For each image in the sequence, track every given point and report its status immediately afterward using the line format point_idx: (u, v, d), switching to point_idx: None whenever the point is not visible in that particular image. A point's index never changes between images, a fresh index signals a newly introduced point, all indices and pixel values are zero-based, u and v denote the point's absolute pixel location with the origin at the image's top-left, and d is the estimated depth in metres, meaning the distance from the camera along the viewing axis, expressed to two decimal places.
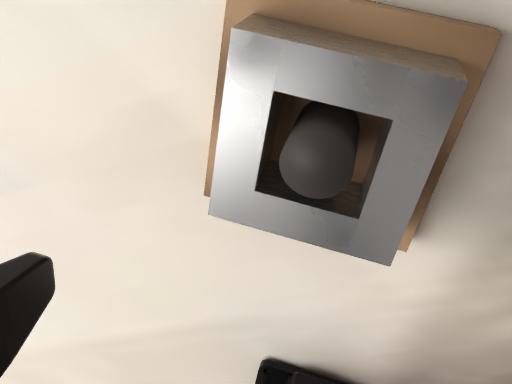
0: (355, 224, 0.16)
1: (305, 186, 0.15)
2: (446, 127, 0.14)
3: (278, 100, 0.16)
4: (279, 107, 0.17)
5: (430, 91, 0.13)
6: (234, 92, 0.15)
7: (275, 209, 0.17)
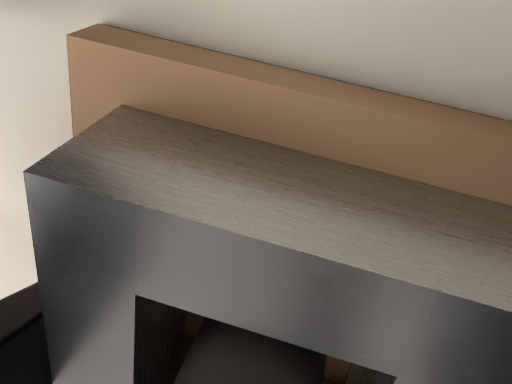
0: None
1: None
2: None
3: None
4: None
5: (488, 339, 0.05)
6: (59, 288, 0.07)
7: None
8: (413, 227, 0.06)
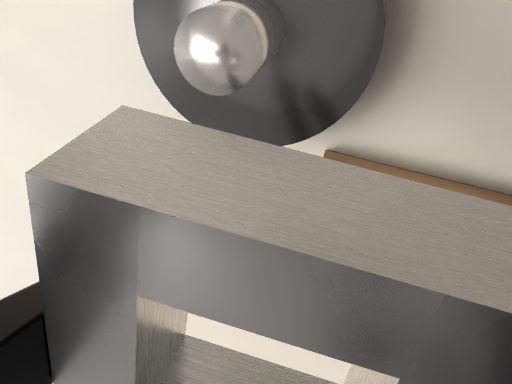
0: None
1: None
2: None
3: None
4: None
5: (491, 342, 0.05)
6: (61, 290, 0.07)
7: None
8: (416, 229, 0.06)
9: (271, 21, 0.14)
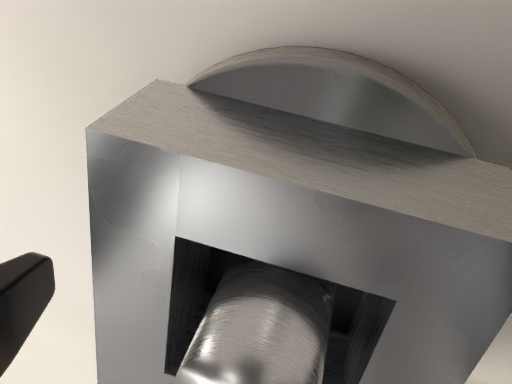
0: None
1: None
2: (499, 322, 0.07)
3: None
4: None
5: (472, 262, 0.07)
6: (108, 233, 0.08)
7: None
8: (410, 176, 0.08)
9: (327, 297, 0.09)
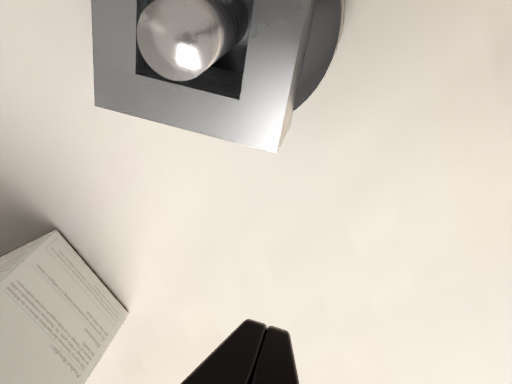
0: None
1: None
2: None
3: None
4: None
5: None
6: (144, 109, 0.17)
7: (258, 78, 0.15)
8: None
9: None
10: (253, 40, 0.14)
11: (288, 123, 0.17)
